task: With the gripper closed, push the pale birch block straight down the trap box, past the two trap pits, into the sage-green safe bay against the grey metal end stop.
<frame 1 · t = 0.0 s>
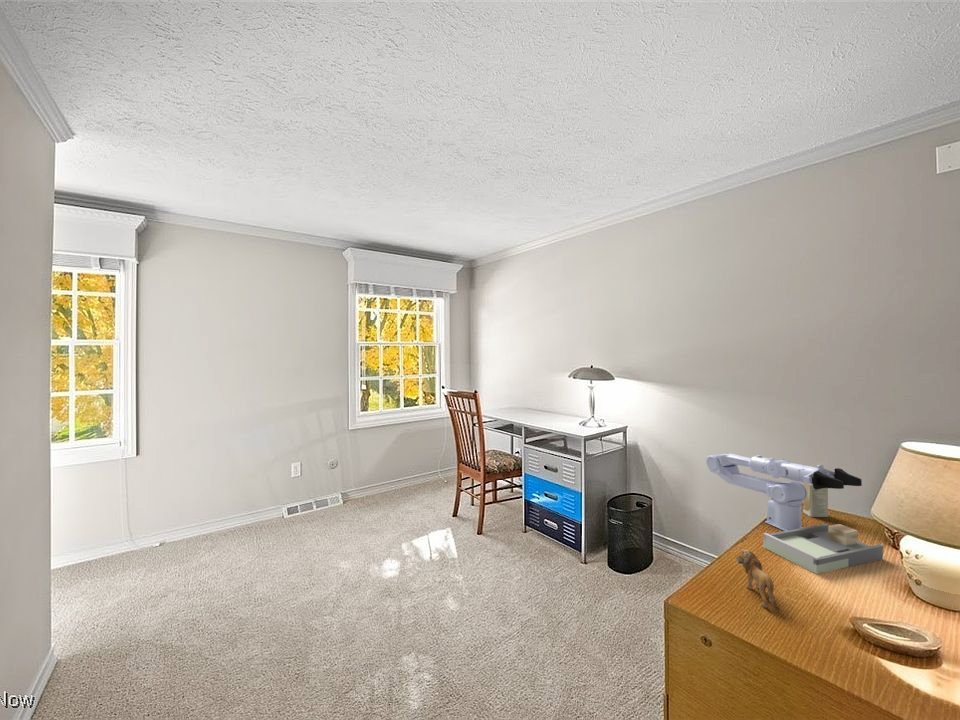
hand: (851, 483, 127), 22 cm above the table, tool horizontal, fingers open, 7 cm apart
trap box: (821, 553, 129), on the table
skincare box: (814, 515, 157), on the table
lion figurine: (757, 594, 109), on the table
birch block: (842, 540, 131), point 2 cm above the table, touching trap box
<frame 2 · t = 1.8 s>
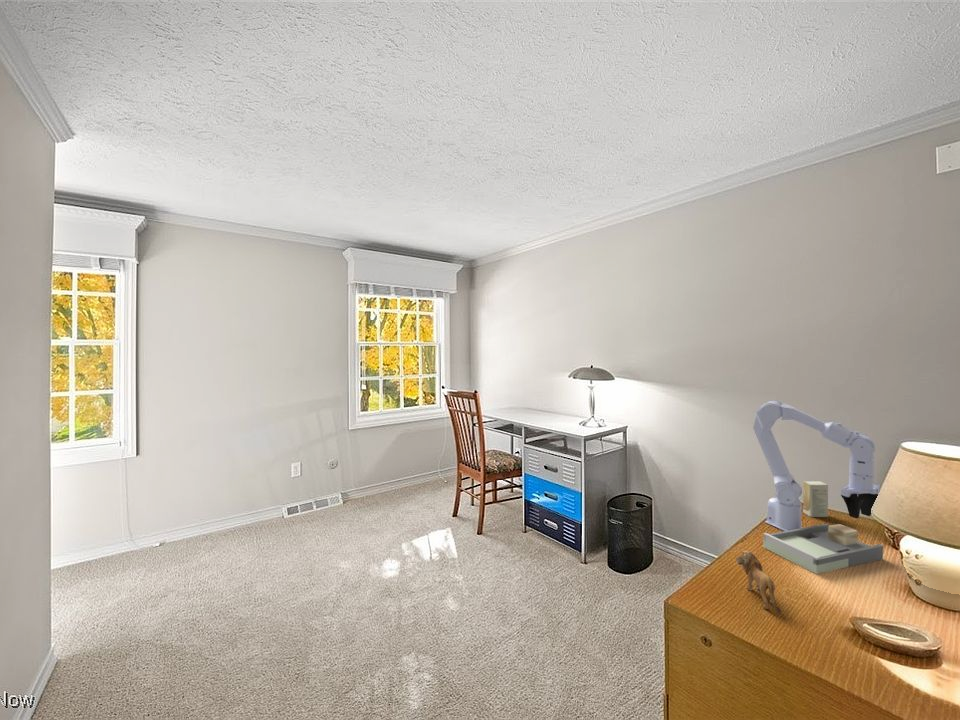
hand: (859, 516, 133), 9 cm above the table, tool pointing down, fingers open, 5 cm apart
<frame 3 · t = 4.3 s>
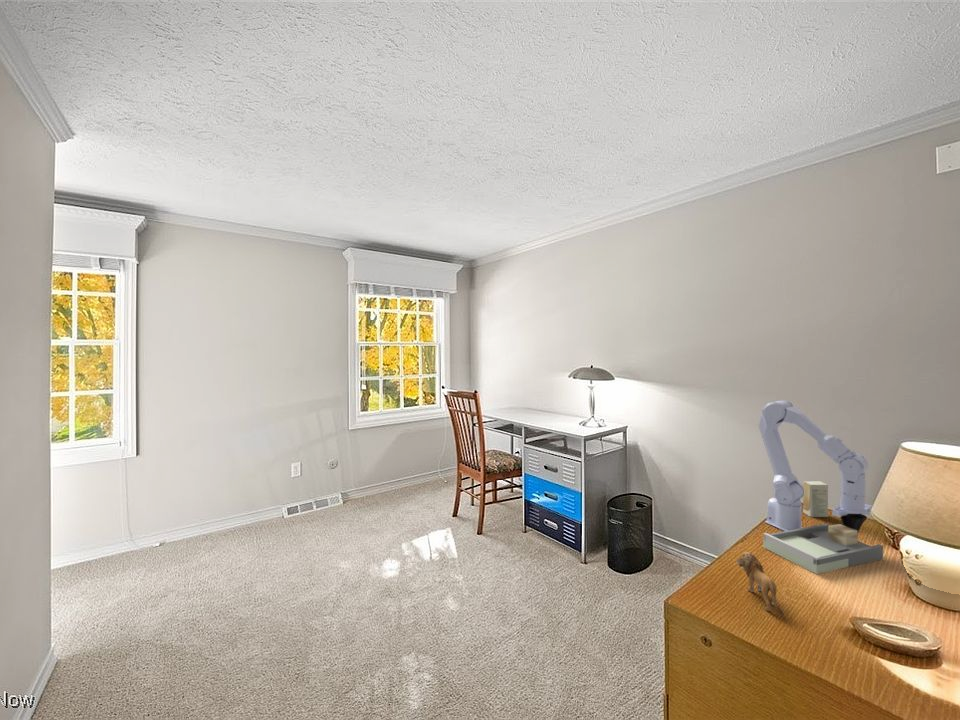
hand: (851, 536, 133), 3 cm above the table, tool pointing down, fingers closed
birch block: (842, 540, 131), point 3 cm above the table, touching gripper
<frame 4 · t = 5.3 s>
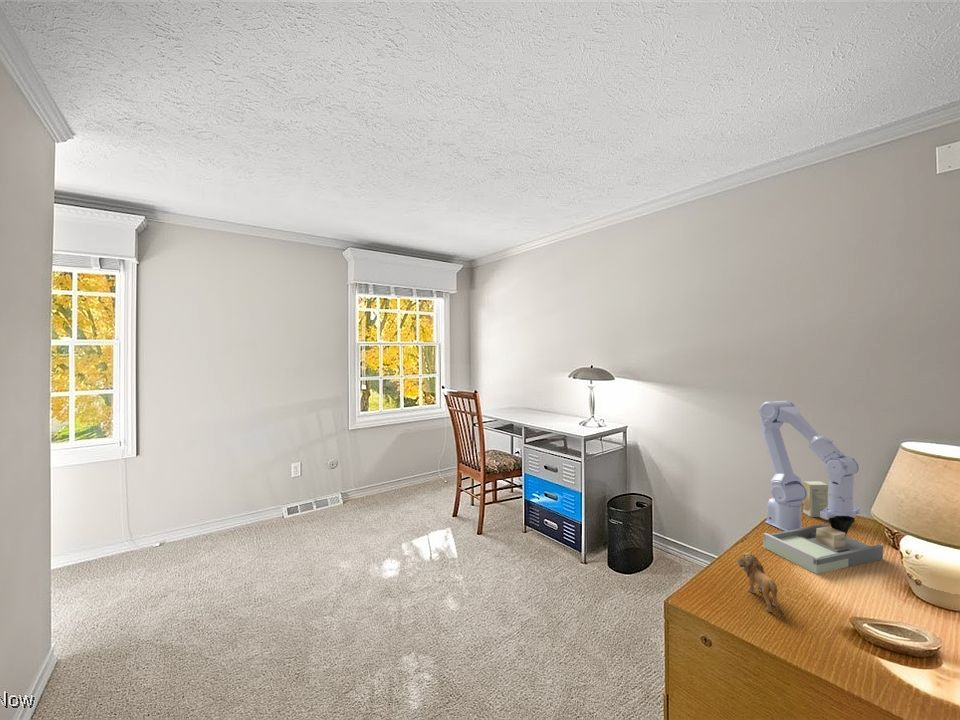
hand: (839, 538, 131), 3 cm above the table, tool pointing down, fingers closed
birch block: (830, 543, 130), point 3 cm above the table, touching gripper
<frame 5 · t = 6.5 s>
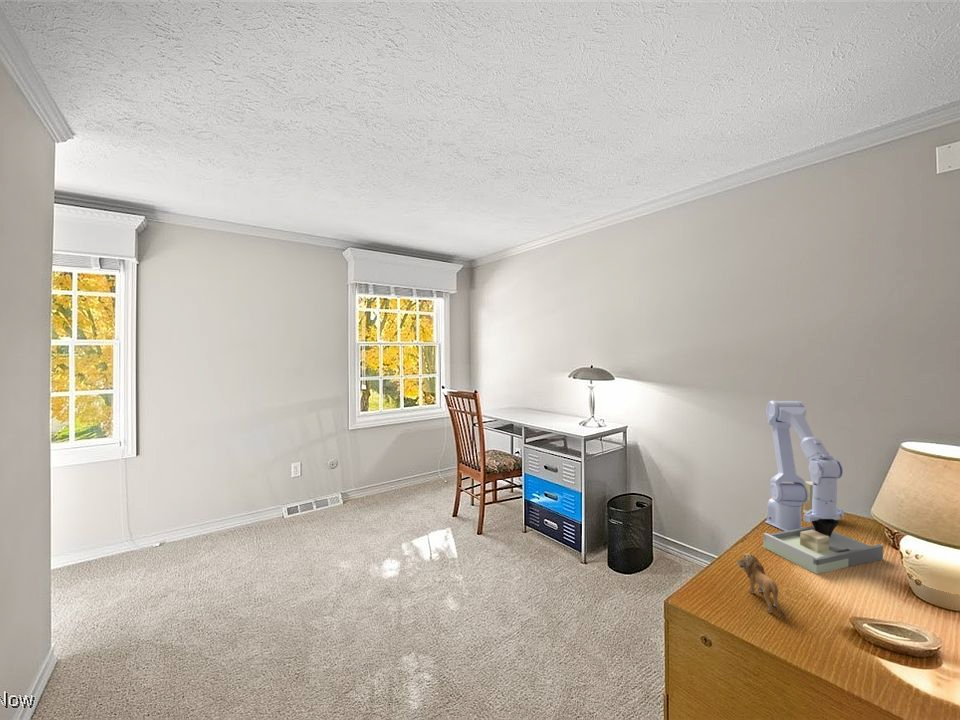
hand: (823, 541, 129), 3 cm above the table, tool pointing down, fingers closed
birch block: (814, 547, 128), point 3 cm above the table, touching gripper
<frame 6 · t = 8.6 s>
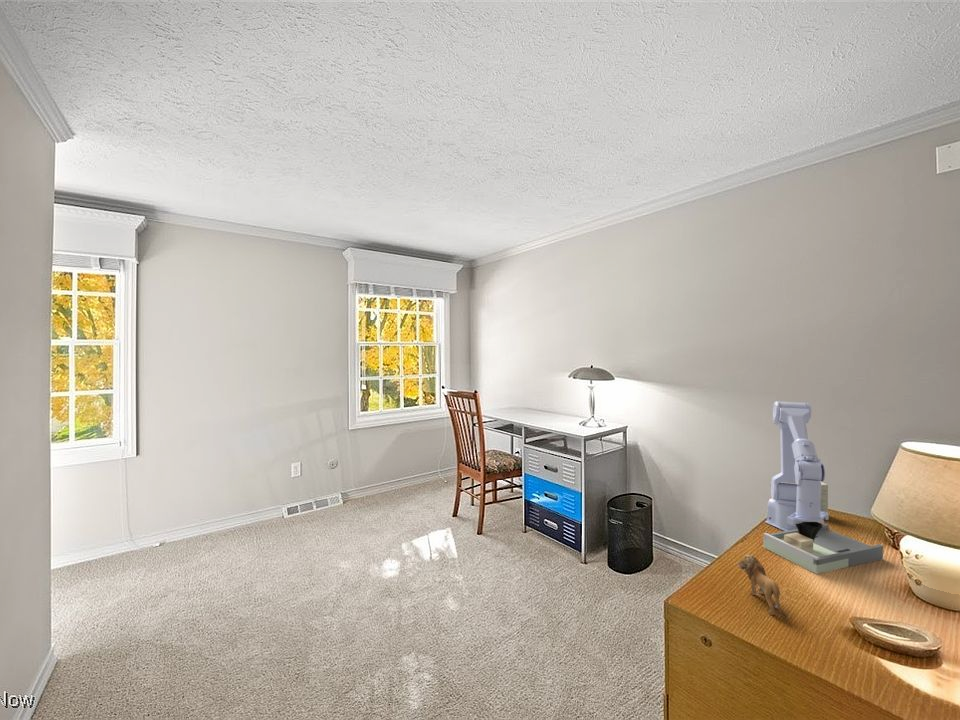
hand: (807, 544, 127), 3 cm above the table, tool pointing down, fingers closed
birch block: (798, 550, 126), point 2 cm above the table, touching gripper, trap box
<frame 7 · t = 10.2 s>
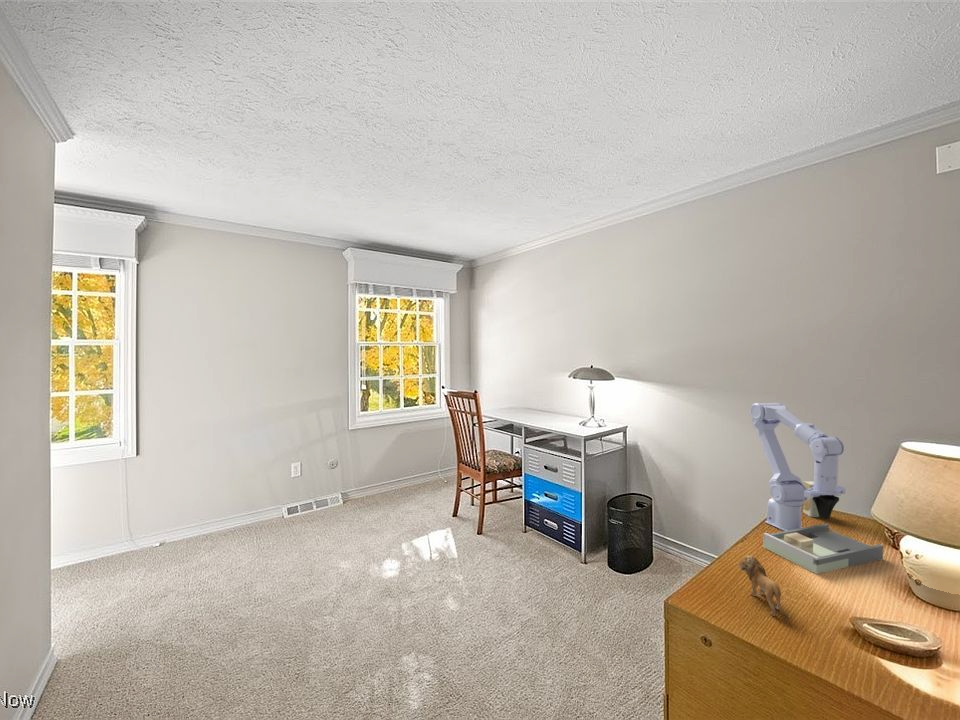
hand: (824, 517, 132), 9 cm above the table, tool pointing down, fingers closed
birch block: (798, 550, 126), point 2 cm above the table, touching trap box
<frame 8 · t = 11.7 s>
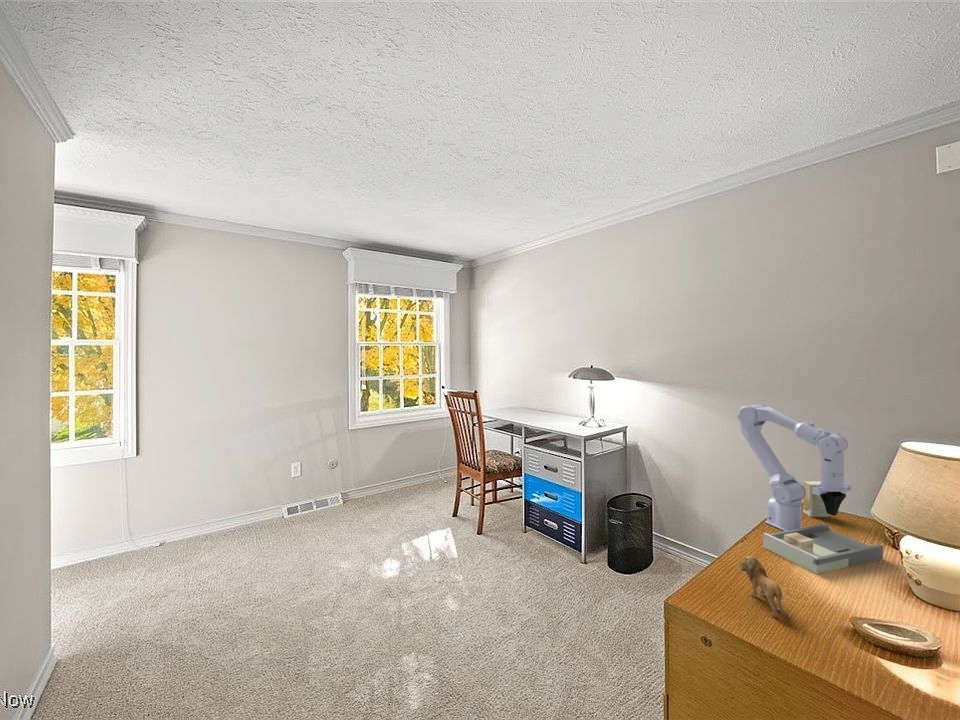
hand: (831, 514, 135), 9 cm above the table, tool pointing down, fingers closed
at the end: birch block 0.6 cm from the target spot on the trap box, point 2.5 cm above the trap box's base; birch block tilted 0° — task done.
